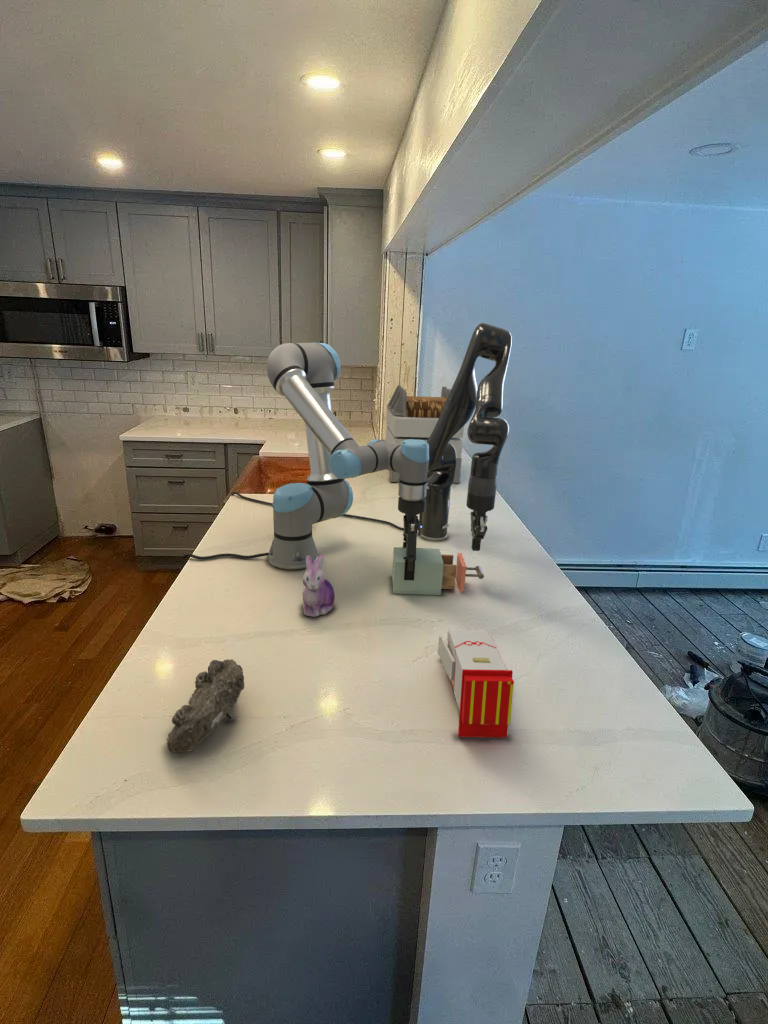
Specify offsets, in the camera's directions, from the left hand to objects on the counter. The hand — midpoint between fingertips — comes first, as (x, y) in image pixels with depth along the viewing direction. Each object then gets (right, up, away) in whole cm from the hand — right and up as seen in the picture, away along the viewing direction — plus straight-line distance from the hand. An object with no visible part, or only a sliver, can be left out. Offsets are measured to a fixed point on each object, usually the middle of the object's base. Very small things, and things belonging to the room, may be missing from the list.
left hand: (407, 571), depth 161 cm
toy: (+11, -21, -43) cm, 49 cm away
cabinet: (+2, -4, +2) cm, 5 cm away
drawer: (+12, -4, +2) cm, 13 cm away
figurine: (-24, -9, -13) cm, 29 cm away
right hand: (+19, +6, -2) cm, 20 cm away
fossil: (-40, -22, -53) cm, 70 cm away
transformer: (+10, +36, +114) cm, 120 cm away
